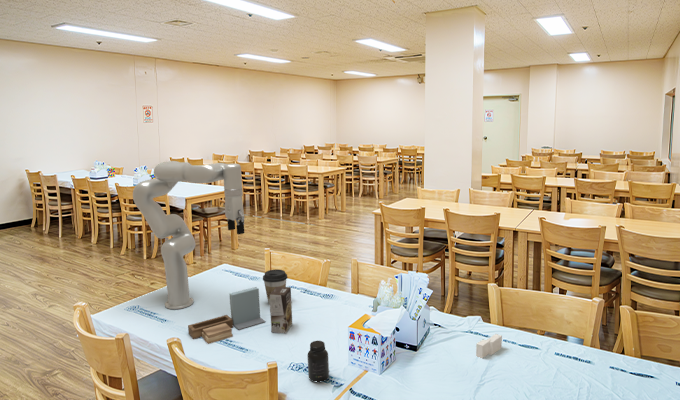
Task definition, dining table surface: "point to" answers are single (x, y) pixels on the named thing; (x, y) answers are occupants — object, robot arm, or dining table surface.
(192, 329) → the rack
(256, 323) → the mat
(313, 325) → the dining table surface
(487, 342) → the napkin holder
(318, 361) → the supplement bottle
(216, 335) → the offcut stack
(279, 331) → the coffee box
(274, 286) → the coffee cup
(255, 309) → the square sheet
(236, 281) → the dining table surface
